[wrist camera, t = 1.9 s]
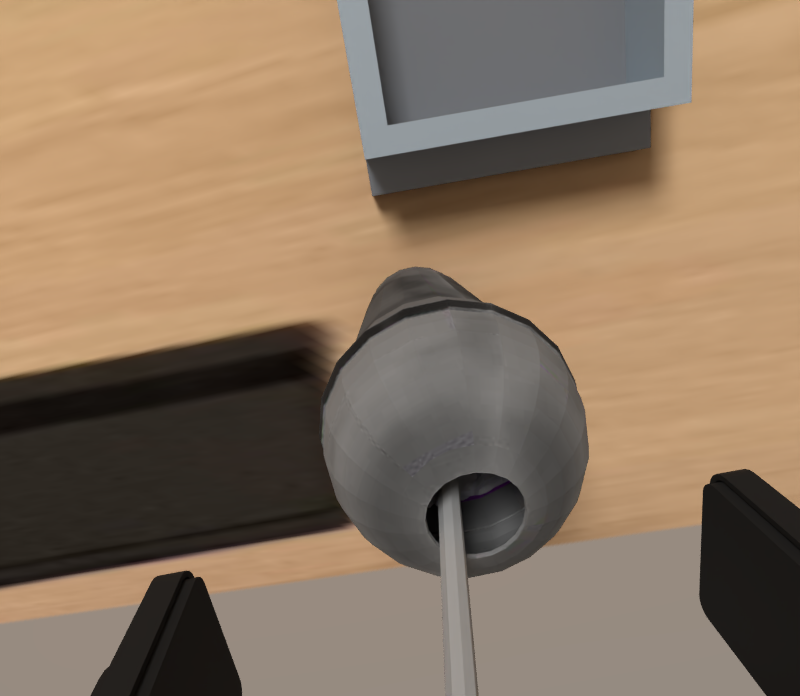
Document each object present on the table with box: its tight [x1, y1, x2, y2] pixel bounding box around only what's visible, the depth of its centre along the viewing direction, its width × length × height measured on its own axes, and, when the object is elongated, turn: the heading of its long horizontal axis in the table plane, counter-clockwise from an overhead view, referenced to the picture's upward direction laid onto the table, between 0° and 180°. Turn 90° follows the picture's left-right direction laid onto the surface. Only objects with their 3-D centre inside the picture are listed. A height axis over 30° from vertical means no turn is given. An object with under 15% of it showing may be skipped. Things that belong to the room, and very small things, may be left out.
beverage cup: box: [319, 267, 589, 696], centre depth 16 cm, size 7×7×20 cm
